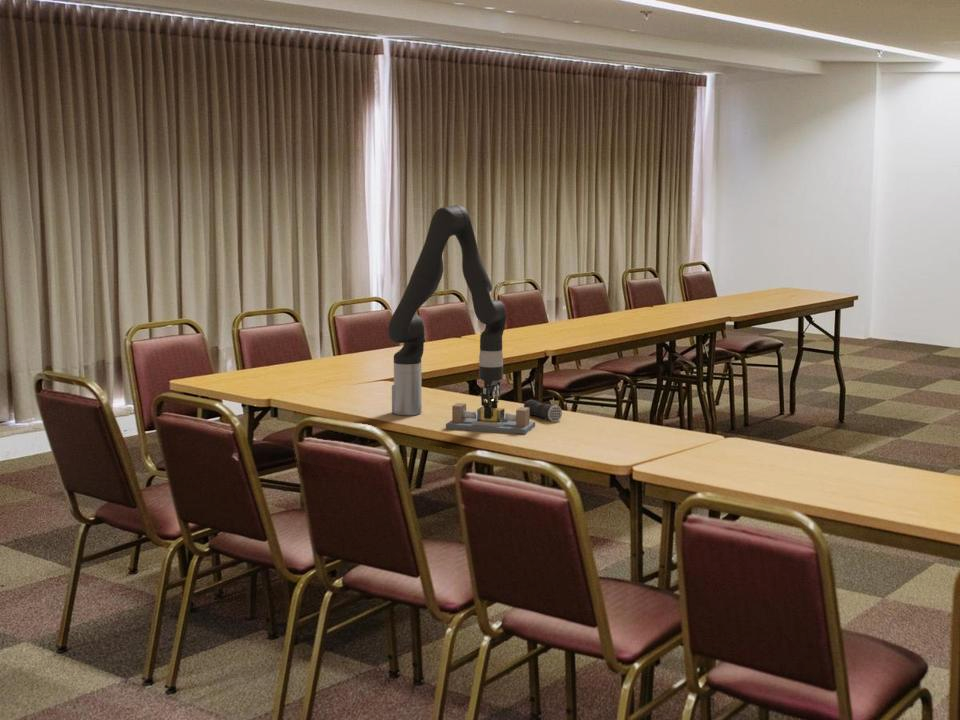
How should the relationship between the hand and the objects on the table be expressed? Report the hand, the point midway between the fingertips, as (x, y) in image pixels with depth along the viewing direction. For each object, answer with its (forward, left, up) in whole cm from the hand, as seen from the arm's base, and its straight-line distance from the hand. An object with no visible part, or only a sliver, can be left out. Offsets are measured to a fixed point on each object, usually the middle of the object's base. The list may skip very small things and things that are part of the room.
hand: (490, 416), depth 365 cm
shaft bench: (0, 0, -4) cm, 4 cm away
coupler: (0, 0, -2) cm, 2 cm away
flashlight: (+12, +20, -4) cm, 24 cm away
